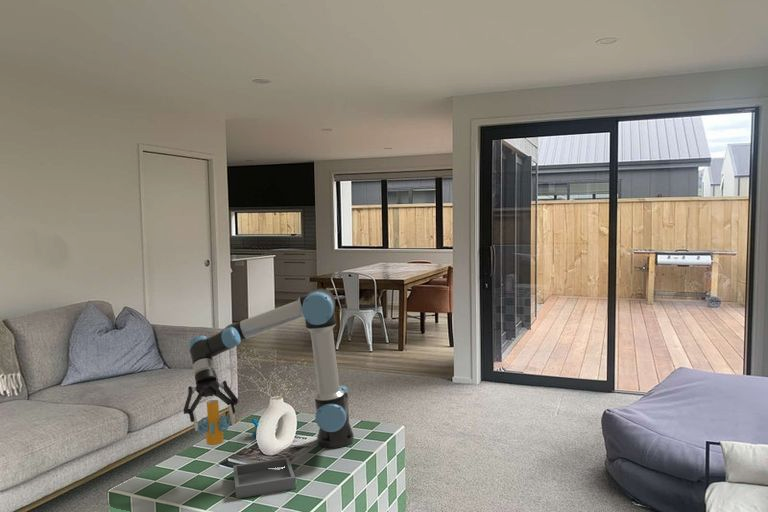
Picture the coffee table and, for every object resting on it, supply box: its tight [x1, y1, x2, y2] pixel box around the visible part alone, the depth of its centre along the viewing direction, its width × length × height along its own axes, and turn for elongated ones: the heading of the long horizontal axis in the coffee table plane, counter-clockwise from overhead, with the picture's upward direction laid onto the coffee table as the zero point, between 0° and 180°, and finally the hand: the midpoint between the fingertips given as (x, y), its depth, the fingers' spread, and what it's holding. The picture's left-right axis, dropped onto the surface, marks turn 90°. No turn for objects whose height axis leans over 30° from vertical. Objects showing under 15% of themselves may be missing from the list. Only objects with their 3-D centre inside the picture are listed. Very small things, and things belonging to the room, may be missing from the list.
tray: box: [232, 457, 297, 499], centre depth 208 cm, size 20×18×4 cm
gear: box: [251, 418, 260, 438], centre depth 252 cm, size 11×6×10 cm
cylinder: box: [197, 399, 231, 446], centre depth 211 cm, size 12×10×15 cm
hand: (215, 425), depth 208 cm, fingers closed on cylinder, 12 cm apart
